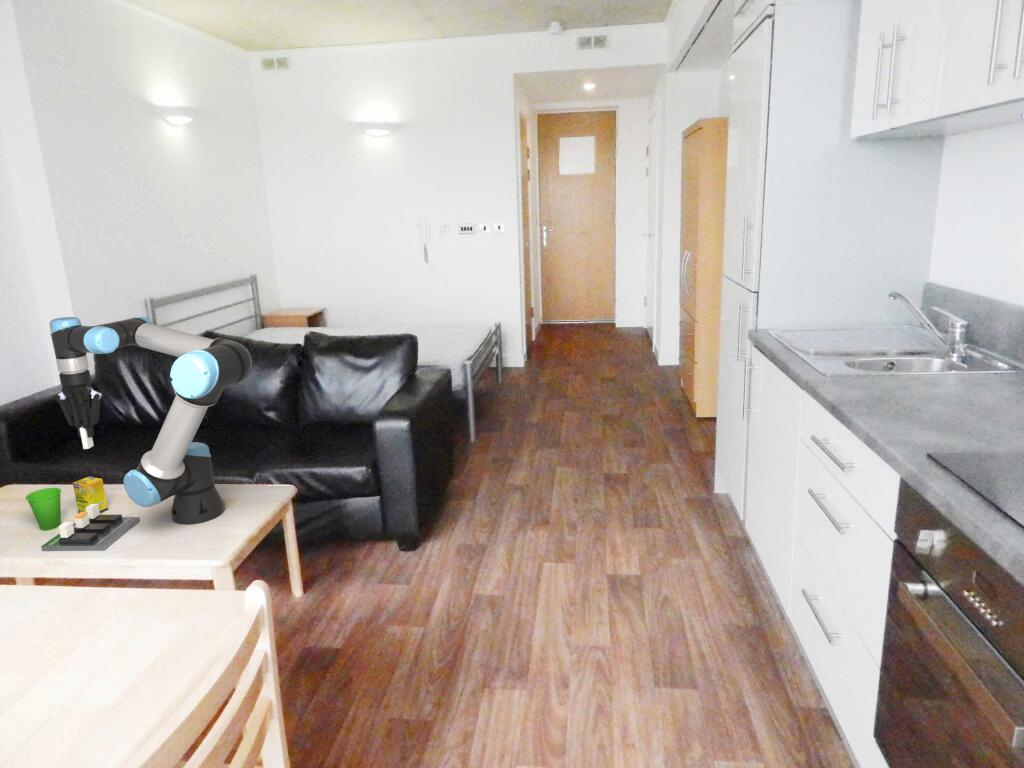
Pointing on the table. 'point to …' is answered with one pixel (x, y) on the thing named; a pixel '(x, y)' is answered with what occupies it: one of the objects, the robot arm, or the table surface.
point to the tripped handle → (81, 520)
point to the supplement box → (90, 493)
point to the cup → (46, 507)
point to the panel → (92, 546)
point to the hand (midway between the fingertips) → (88, 447)
